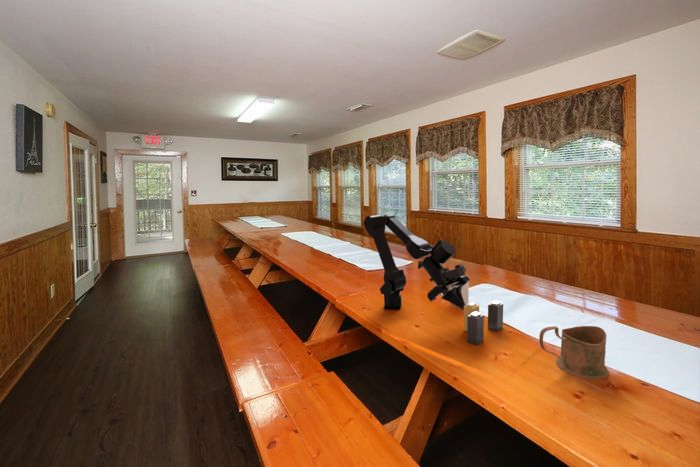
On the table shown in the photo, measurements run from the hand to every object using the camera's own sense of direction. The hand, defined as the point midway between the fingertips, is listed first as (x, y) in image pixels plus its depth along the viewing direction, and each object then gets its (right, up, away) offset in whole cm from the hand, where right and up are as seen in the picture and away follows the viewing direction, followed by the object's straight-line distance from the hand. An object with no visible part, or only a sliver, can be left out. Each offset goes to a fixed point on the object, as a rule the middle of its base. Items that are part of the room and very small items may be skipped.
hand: (464, 308), depth 114 cm
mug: (+20, -11, -23) cm, 33 cm away
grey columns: (+2, -8, -1) cm, 8 cm away
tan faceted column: (+2, -7, -1) cm, 7 cm away
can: (+7, -4, +25) cm, 26 cm away
